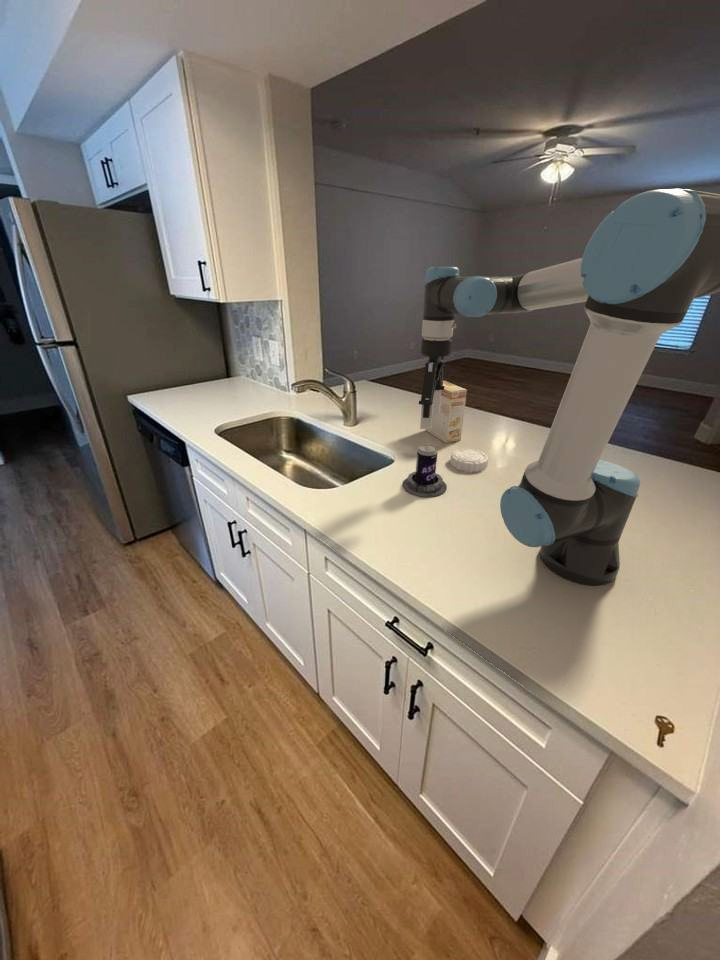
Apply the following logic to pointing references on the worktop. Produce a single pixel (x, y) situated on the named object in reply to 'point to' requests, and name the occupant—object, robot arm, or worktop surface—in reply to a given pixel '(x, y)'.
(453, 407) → the coffeecake box
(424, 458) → the beverage can
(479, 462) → the mooncake
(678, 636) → the worktop surface
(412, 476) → the ring collar
